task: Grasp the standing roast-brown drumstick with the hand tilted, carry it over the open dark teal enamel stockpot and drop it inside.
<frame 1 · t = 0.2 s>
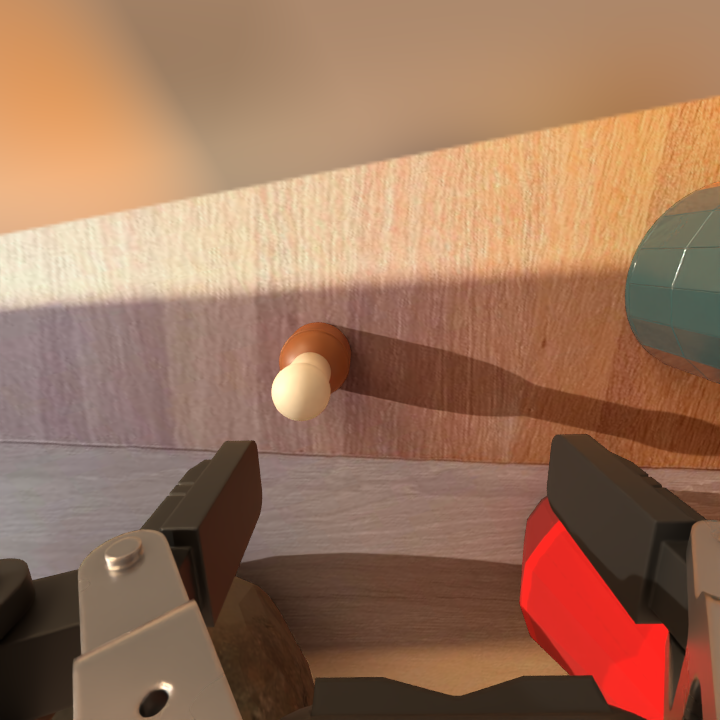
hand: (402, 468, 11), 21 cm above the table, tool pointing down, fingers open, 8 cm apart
pot: (203, 609, 39), on the table
drumstick: (318, 353, 31), on the table
bottle: (568, 527, 36), on the table
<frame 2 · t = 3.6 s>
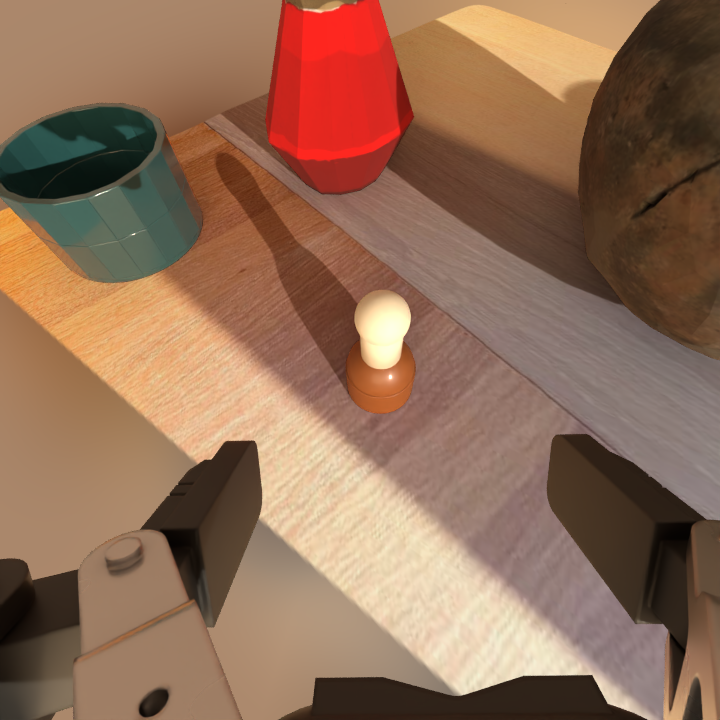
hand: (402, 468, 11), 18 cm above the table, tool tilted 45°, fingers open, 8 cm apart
pot: (678, 290, 35), on the table
drumstick: (379, 383, 31), on the table
bottle: (343, 172, 45), on the table
stockpot: (134, 230, 41), on the table
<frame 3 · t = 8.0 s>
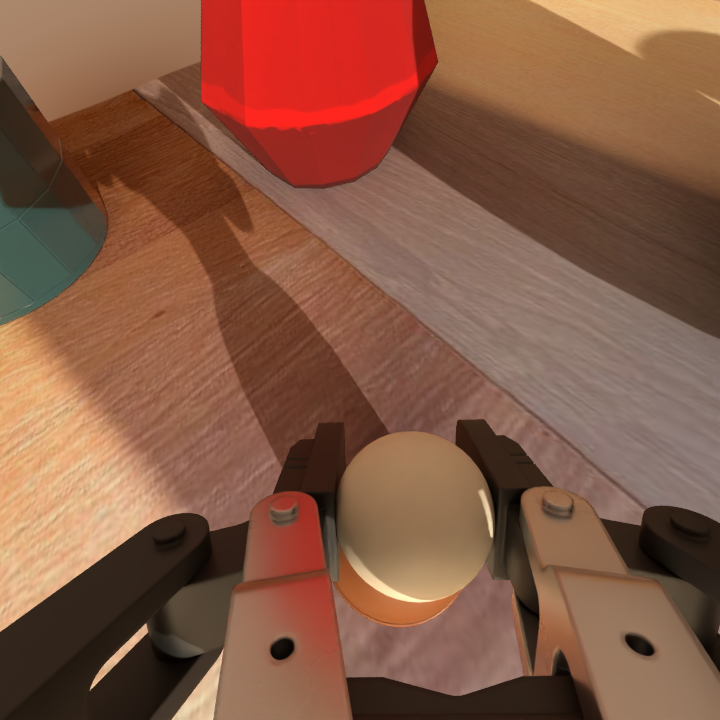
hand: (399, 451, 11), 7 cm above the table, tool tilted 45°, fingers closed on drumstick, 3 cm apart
drumstick: (392, 545, 16), on the table, touching gripper
bottle: (328, 156, 30), on the table
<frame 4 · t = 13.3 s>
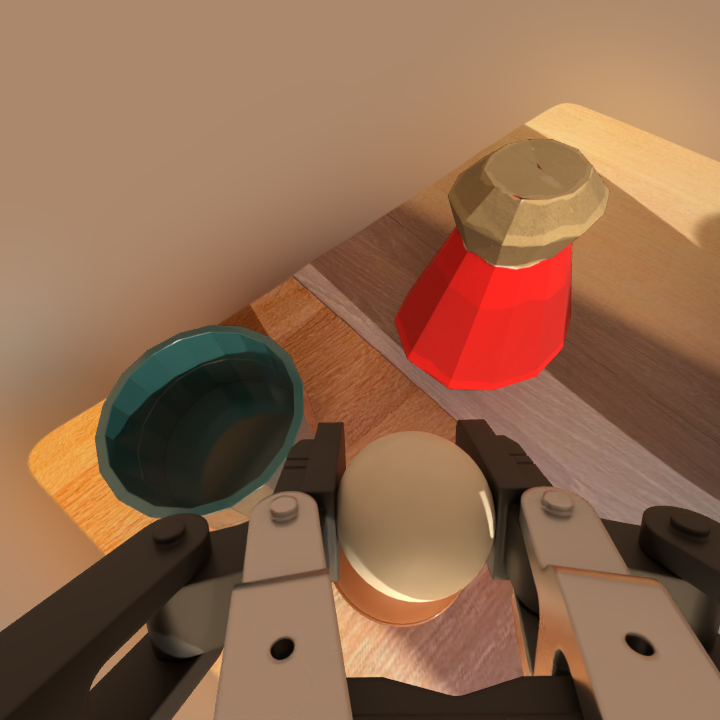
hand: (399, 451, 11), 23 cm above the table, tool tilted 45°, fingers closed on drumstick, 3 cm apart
drumstick: (393, 545, 16), point 16 cm above the table, touching gripper
bottle: (467, 353, 39), on the table
stockpot: (240, 447, 35), on the table
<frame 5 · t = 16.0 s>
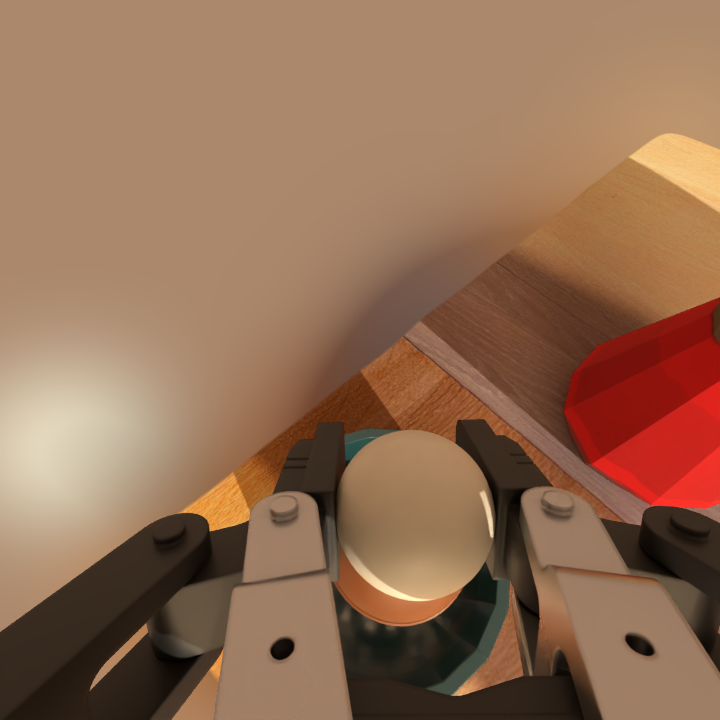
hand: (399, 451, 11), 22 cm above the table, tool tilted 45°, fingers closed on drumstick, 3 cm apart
drumstick: (393, 544, 16), point 16 cm above the table, touching gripper
bottle: (622, 436, 34), on the table
stockpot: (379, 557, 30), on the table
when the fingers open (15 cm above the table, at t = 18.6 s): drumstick drops 8 cm, resting on stockpot.
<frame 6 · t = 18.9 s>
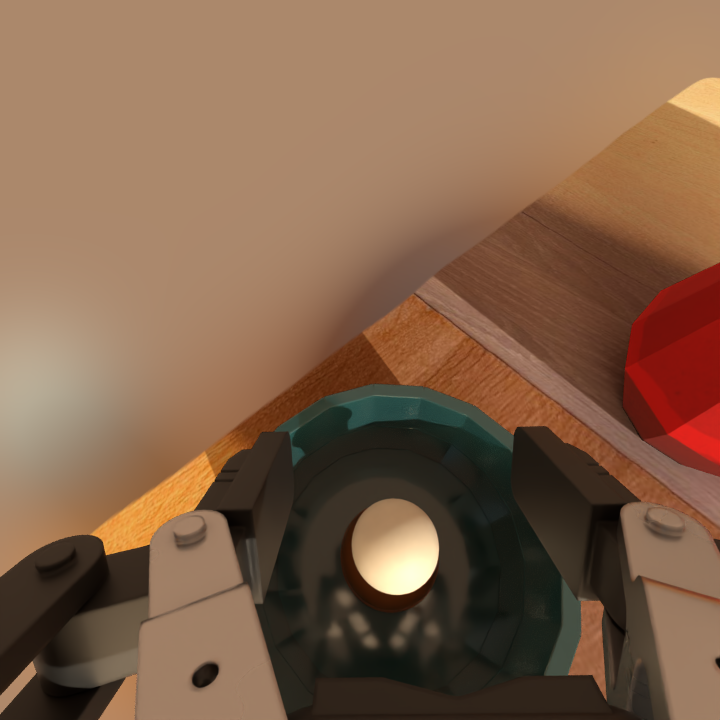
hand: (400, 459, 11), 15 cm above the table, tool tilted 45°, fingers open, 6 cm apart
drumstick: (387, 557, 23), resting on stockpot
bottle: (686, 408, 28), on the table
stockpot: (387, 556, 23), on the table
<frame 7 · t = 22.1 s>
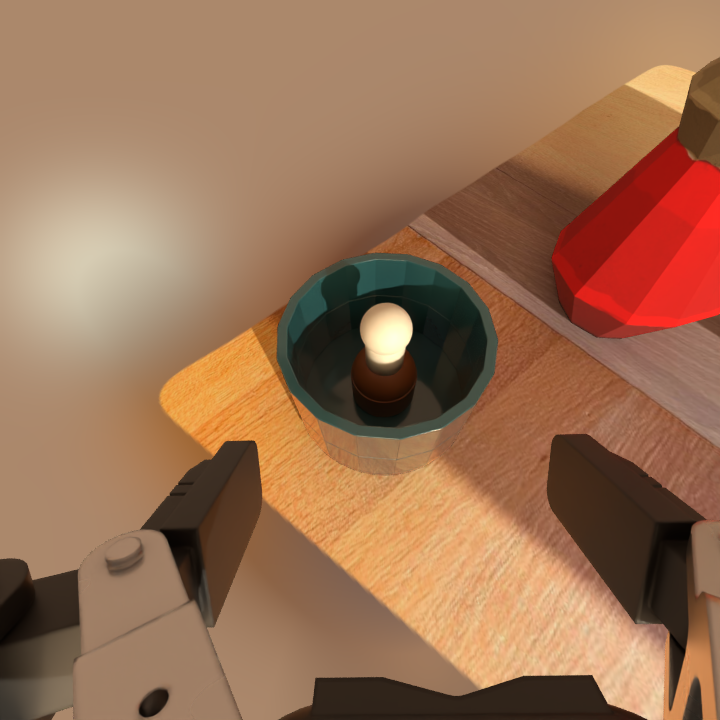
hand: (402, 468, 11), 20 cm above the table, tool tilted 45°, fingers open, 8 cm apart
drumstick: (383, 388, 33), resting on stockpot
bottle: (607, 303, 37), on the table
stockpot: (382, 390, 33), on the table
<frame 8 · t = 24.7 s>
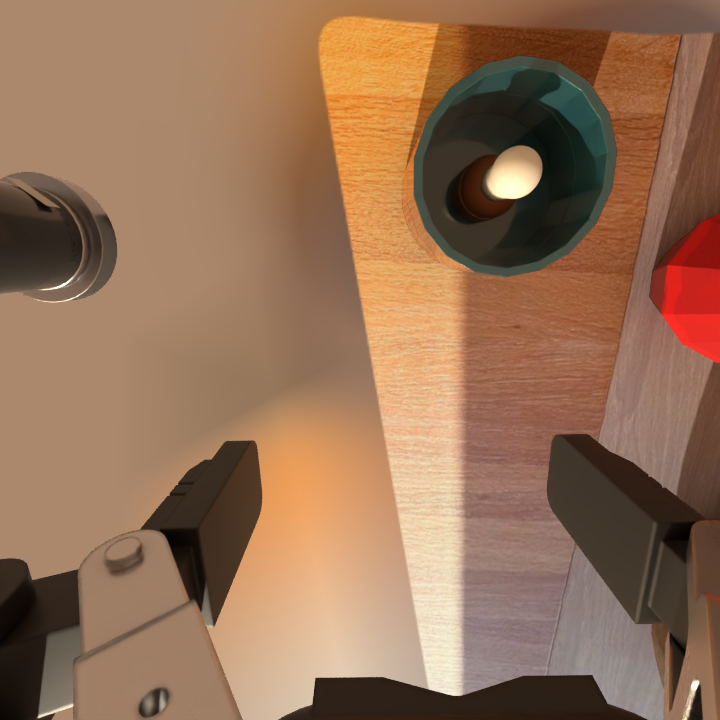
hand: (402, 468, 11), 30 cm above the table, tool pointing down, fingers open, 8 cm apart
pot: (713, 570, 48), on the table
drumstick: (479, 192, 36), resting on stockpot
bottle: (694, 283, 39), on the table
stockpot: (478, 193, 37), on the table
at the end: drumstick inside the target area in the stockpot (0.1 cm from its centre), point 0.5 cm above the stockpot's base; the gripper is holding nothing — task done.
